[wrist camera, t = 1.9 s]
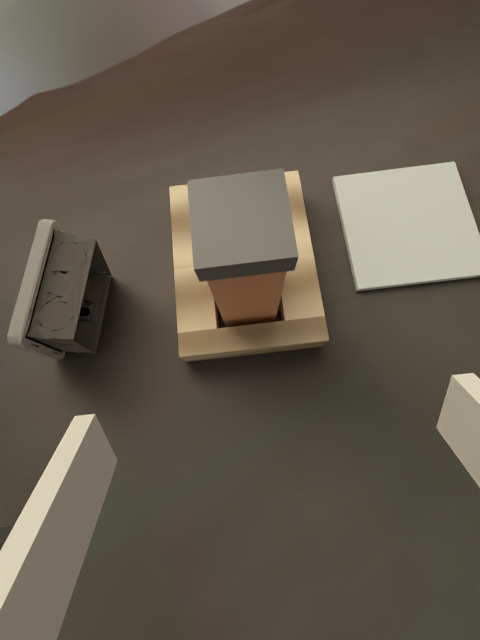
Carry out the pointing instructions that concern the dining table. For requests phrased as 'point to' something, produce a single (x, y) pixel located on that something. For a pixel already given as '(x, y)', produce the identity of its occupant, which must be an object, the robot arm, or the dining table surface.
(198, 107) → the dining table surface
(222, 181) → the plug
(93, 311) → the electrical switch
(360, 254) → the mat
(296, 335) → the socket block
